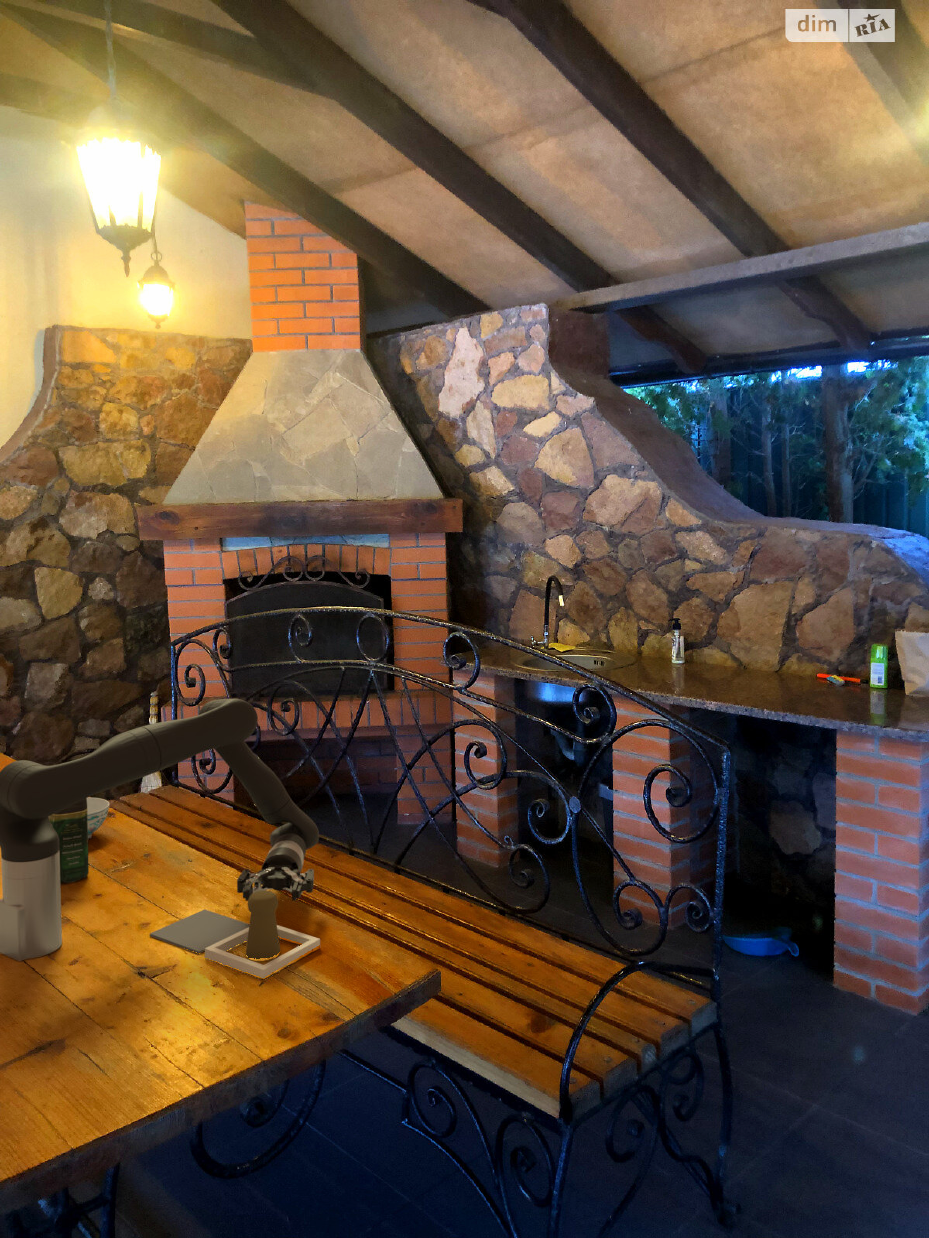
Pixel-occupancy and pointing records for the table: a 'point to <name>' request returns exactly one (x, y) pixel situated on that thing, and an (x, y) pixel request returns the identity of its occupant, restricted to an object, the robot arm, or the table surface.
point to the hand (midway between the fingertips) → (270, 895)
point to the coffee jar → (72, 841)
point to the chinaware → (96, 813)
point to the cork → (262, 925)
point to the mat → (199, 930)
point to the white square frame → (220, 955)
